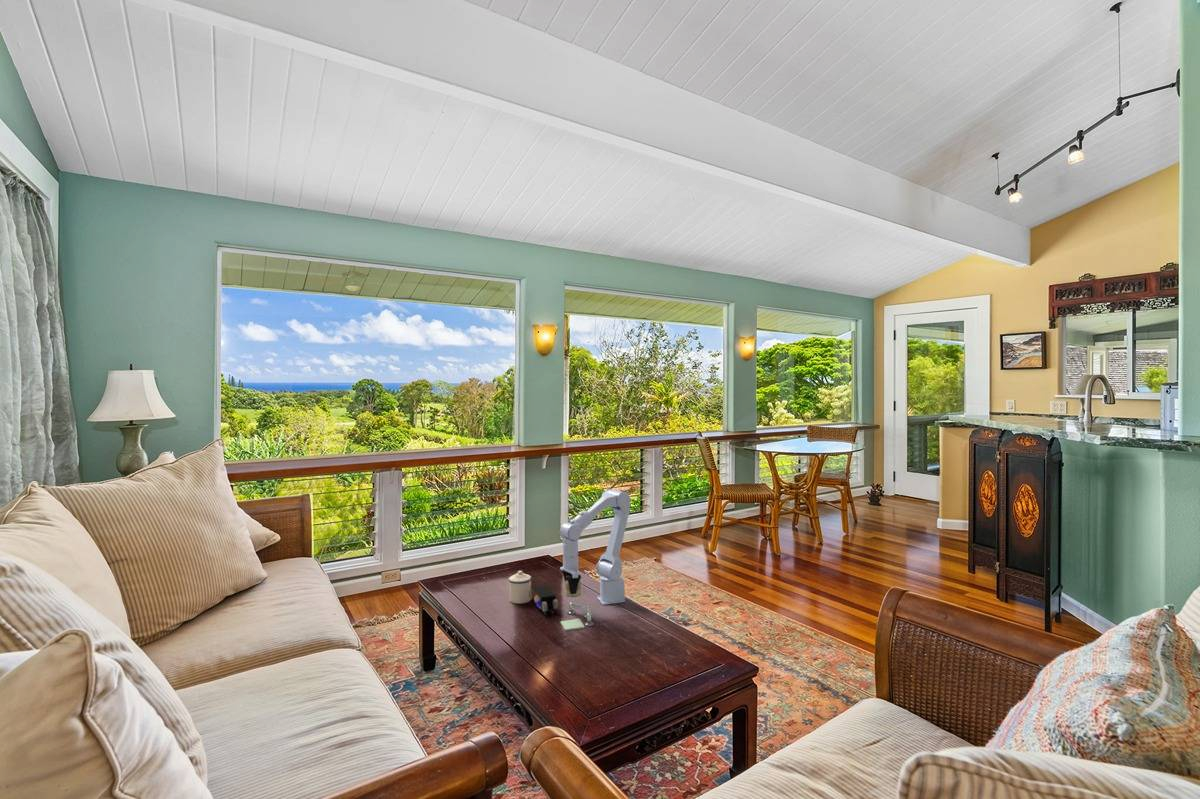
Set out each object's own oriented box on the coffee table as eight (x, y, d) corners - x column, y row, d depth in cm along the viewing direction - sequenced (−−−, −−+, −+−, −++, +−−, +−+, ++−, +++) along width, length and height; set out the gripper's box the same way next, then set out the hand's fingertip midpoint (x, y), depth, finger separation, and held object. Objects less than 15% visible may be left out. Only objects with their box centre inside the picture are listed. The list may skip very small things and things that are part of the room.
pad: (579, 620, 202) (579, 618, 202) (584, 628, 195) (584, 626, 195) (560, 623, 200) (560, 621, 200) (565, 630, 193) (565, 629, 193)
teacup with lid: (534, 601, 220) (534, 572, 220) (512, 605, 217) (512, 576, 216) (525, 592, 231) (525, 564, 231) (504, 595, 227) (504, 567, 227)
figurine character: (559, 618, 208) (546, 600, 221) (560, 599, 207) (546, 582, 220) (543, 621, 205) (530, 603, 218) (543, 602, 204) (530, 585, 218)
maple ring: (577, 591, 213) (577, 578, 212) (582, 596, 207) (582, 582, 207) (564, 593, 211) (563, 580, 210) (568, 598, 205) (568, 584, 205)
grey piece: (587, 609, 212) (586, 599, 212) (598, 624, 198) (598, 614, 198) (566, 611, 210) (566, 601, 210) (576, 628, 195) (576, 617, 195)
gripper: (556, 551, 214) (556, 585, 214) (564, 562, 200) (565, 599, 201) (573, 549, 216) (574, 583, 217) (583, 560, 202) (584, 596, 203)
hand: (571, 590), depth 209 cm, fingers closed on maple ring, 6 cm apart
